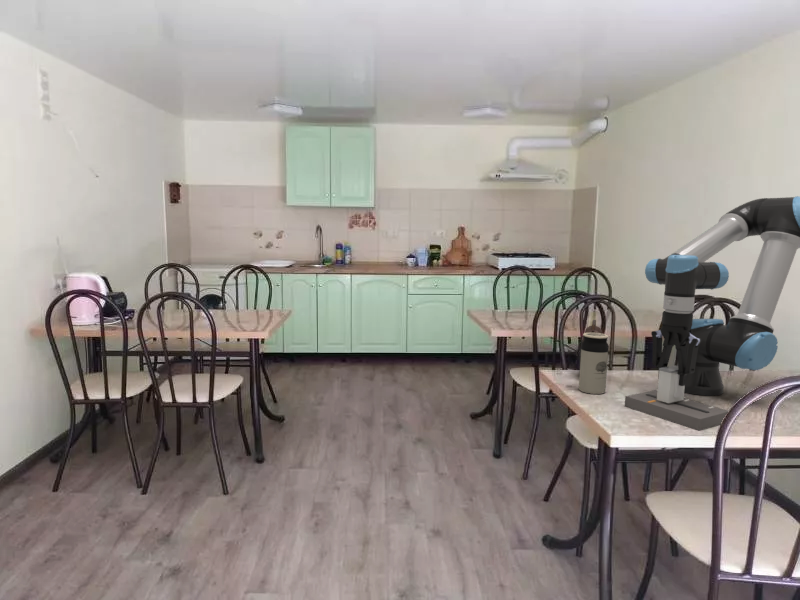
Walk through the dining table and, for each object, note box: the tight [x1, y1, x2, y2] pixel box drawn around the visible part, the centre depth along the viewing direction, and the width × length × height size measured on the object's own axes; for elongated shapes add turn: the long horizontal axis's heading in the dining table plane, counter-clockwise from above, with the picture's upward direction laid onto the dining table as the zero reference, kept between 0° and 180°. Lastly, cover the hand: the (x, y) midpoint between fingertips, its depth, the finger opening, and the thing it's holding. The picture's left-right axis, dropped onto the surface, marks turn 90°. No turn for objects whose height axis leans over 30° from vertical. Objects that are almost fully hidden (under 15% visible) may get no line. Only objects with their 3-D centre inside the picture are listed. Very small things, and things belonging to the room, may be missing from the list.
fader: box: [657, 365, 685, 403], centre depth 154 cm, size 4×7×9 cm, turn 121°
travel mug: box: [578, 332, 610, 395], centre depth 173 cm, size 8×8×18 cm
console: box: [624, 389, 729, 431], centre depth 153 cm, size 22×14×3 cm, turn 31°
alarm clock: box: [579, 319, 603, 362], centre depth 189 cm, size 15×7×20 cm, turn 159°
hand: (670, 394), depth 154 cm, fingers closed on fader, 3 cm apart
